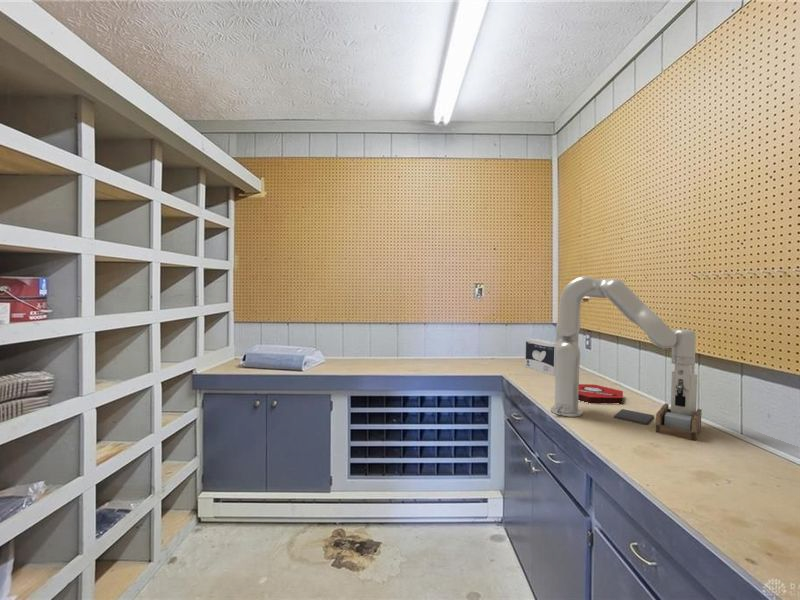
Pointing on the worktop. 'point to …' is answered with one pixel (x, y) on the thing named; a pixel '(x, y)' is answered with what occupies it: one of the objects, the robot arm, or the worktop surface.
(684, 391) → the robot arm
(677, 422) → the offcut block
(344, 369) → the worktop surface
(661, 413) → the rack
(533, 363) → the packaging
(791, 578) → the worktop surface
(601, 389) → the plaque
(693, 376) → the paper towel roll
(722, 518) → the worktop surface
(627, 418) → the mat
